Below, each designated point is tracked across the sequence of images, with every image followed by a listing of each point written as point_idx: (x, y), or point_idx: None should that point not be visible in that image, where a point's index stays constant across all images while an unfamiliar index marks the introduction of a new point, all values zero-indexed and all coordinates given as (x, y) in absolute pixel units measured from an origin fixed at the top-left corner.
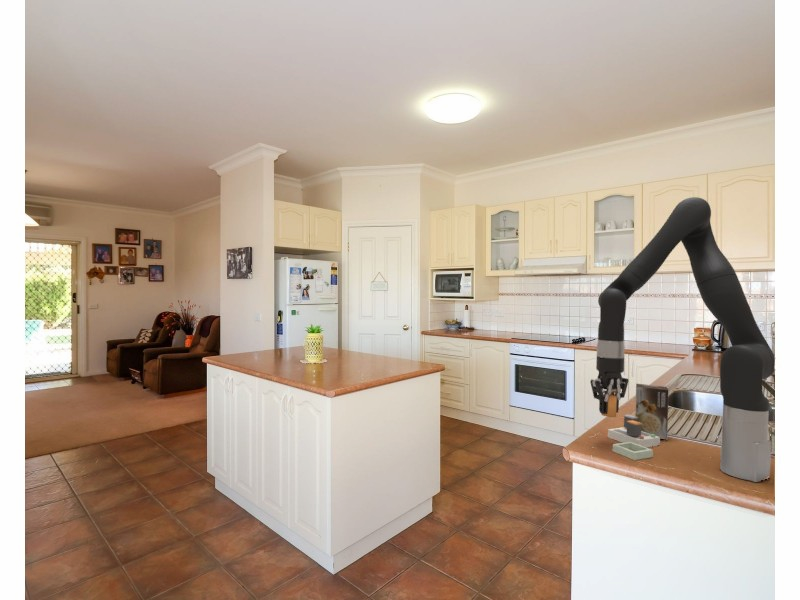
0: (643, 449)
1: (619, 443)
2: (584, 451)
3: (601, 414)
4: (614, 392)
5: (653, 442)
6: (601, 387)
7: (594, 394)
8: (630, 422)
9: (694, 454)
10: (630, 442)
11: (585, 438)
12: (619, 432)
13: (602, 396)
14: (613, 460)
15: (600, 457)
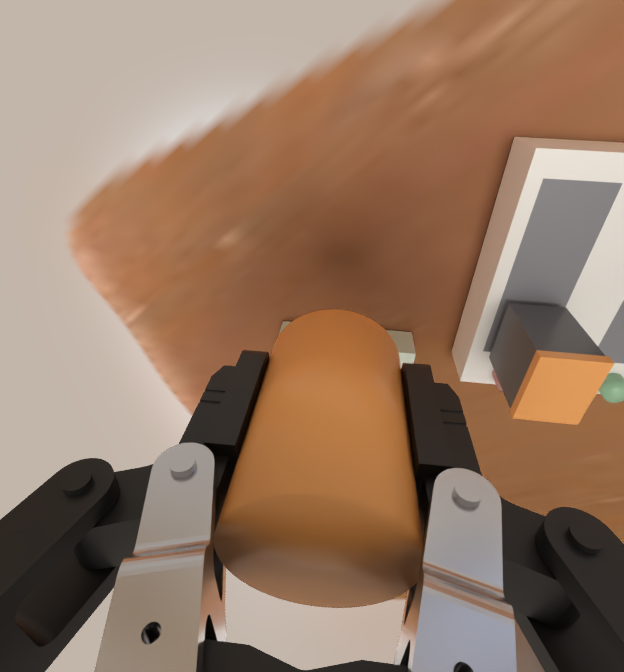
0: None
1: None
2: (136, 266)
3: (287, 325)
4: (405, 628)
5: None
6: (152, 665)
7: (22, 526)
8: (528, 379)
9: (598, 470)
10: (402, 361)
11: (322, 84)
12: (524, 244)
13: (109, 574)
14: (195, 381)
15: (163, 343)
